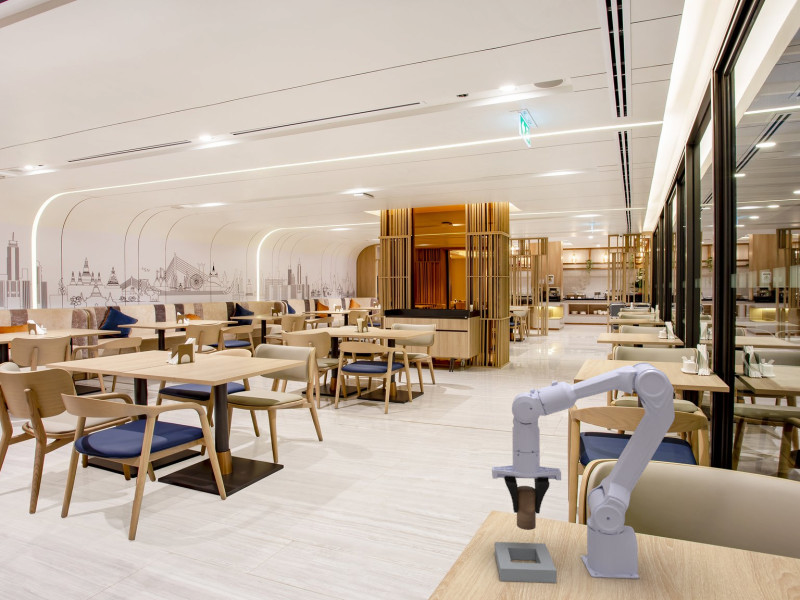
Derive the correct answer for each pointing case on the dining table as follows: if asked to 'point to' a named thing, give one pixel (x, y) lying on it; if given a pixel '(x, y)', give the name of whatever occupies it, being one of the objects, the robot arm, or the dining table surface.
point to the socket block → (524, 571)
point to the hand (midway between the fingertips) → (526, 511)
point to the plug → (526, 507)
